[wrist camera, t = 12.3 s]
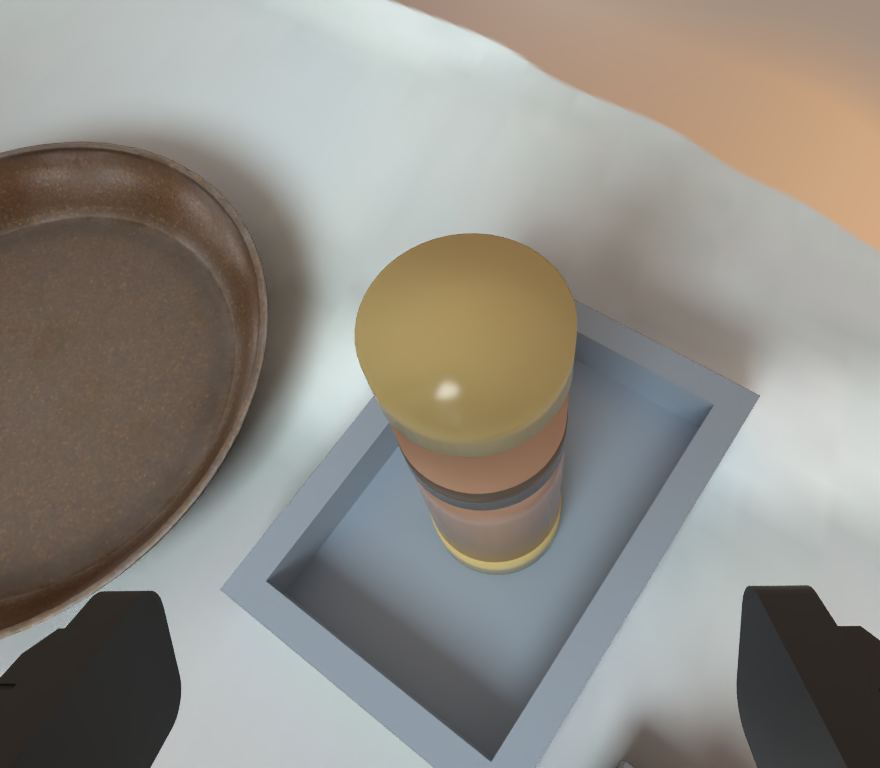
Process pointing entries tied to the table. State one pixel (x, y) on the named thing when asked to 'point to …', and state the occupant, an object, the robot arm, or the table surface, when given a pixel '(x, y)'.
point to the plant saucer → (113, 361)
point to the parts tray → (483, 595)
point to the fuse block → (624, 765)
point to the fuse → (476, 389)
